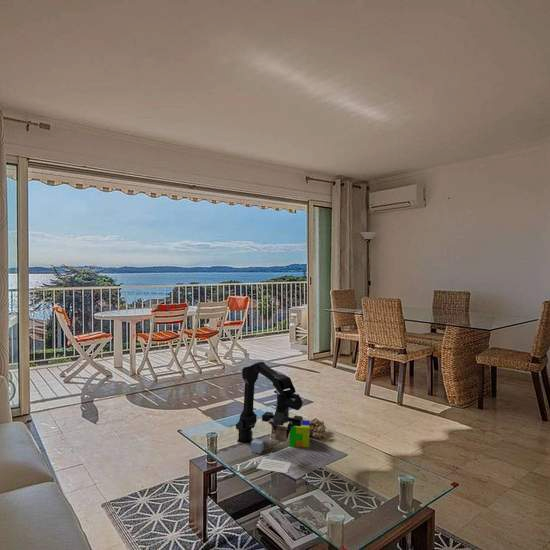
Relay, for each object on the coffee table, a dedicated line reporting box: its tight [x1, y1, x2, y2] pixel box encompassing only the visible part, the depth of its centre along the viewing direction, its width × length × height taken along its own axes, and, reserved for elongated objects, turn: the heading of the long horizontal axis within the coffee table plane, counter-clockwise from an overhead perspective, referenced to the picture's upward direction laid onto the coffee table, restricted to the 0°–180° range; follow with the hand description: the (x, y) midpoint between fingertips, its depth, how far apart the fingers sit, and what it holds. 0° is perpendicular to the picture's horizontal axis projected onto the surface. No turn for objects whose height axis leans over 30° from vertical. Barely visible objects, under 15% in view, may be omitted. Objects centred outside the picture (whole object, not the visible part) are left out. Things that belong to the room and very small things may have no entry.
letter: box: [256, 458, 292, 474], centre depth 185 cm, size 14×10×1 cm
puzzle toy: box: [289, 419, 311, 448], centre depth 211 cm, size 10×10×10 cm
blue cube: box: [250, 438, 265, 454], centre depth 200 cm, size 5×5×5 cm
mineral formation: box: [309, 417, 327, 439], centre depth 221 cm, size 8×13×15 cm
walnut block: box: [274, 425, 289, 443], centre depth 191 cm, size 5×5×5 cm
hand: (281, 436), depth 191 cm, fingers closed on walnut block, 5 cm apart
